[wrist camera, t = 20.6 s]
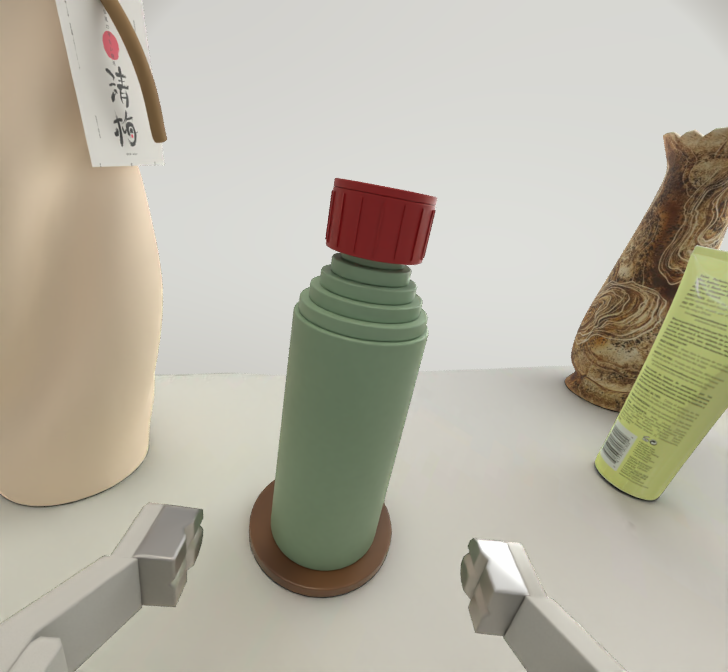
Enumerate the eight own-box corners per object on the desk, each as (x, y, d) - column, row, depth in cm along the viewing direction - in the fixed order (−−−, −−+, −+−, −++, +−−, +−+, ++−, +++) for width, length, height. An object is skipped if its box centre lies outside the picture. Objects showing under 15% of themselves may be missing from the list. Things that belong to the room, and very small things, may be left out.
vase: (663, 413, 45) (817, 149, 34) (615, 423, 40) (777, 120, 29) (587, 372, 53) (690, 150, 42) (539, 377, 48) (641, 128, 37)
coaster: (217, 563, 18) (217, 554, 18) (287, 458, 26) (288, 452, 26) (373, 624, 17) (376, 616, 17) (399, 495, 25) (401, 488, 24)
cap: (309, 246, 14) (318, 173, 13) (342, 238, 18) (350, 182, 17) (417, 271, 13) (434, 195, 12) (426, 257, 17) (440, 199, 16)
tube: (658, 477, 32) (793, 262, 25) (677, 517, 28) (847, 270, 20) (589, 451, 34) (695, 244, 27) (596, 484, 30) (725, 248, 22)
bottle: (249, 546, 19) (279, 178, 12) (297, 468, 24) (335, 188, 18) (361, 589, 18) (461, 213, 11) (384, 497, 23) (460, 212, 17)
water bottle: (196, 418, 28) (198, -41, 18) (151, 515, 20) (107, -226, 10) (47, 410, 26) (-50, -116, 16) (-70, 514, 18) (-427, -431, 8)
